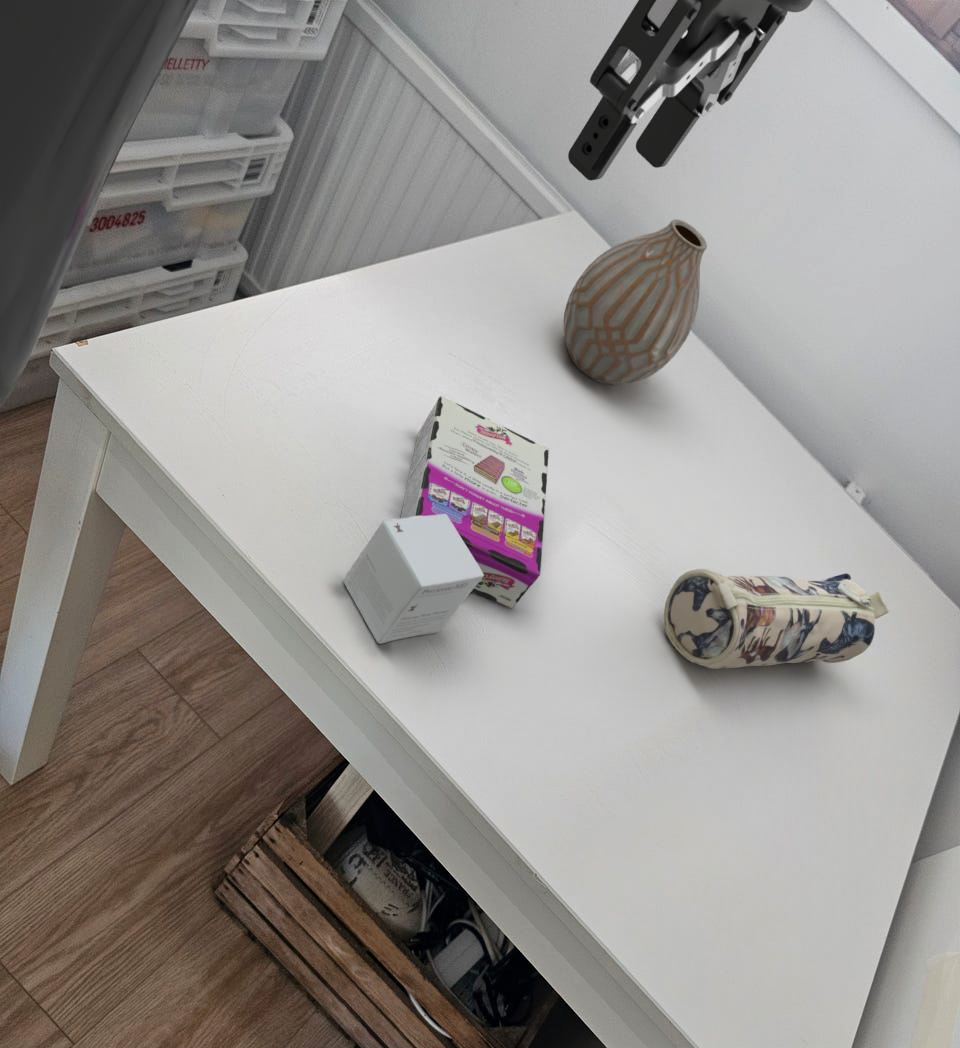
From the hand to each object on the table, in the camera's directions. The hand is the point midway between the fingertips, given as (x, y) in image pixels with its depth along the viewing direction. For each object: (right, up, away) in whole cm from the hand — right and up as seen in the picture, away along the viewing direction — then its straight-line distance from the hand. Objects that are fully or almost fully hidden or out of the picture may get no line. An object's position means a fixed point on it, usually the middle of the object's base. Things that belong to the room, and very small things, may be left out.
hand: (616, 164), depth 61 cm
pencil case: (+16, -29, +37) cm, 50 cm away
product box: (-15, -26, +18) cm, 34 cm away
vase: (+5, +3, +55) cm, 55 cm away
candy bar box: (-9, -22, +21) cm, 32 cm away
